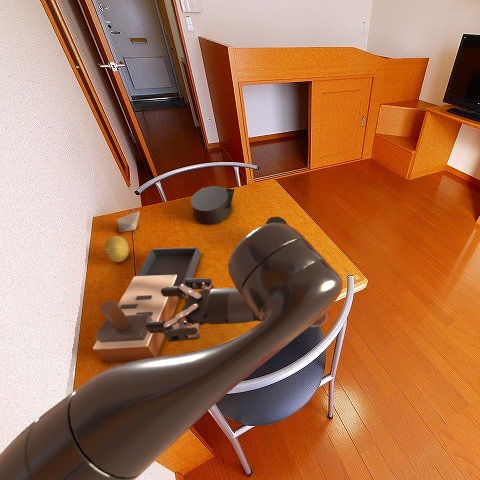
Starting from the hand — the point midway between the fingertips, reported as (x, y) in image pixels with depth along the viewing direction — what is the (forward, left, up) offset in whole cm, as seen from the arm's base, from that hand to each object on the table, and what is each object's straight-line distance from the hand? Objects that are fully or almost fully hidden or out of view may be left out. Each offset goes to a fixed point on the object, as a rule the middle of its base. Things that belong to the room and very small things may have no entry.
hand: (154, 308), depth 57 cm
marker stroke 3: (+2, +8, -8) cm, 11 cm away
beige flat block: (+3, +10, -14) cm, 17 cm away
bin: (+18, +16, -14) cm, 27 cm away
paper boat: (+34, +43, -14) cm, 56 cm away
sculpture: (+20, +34, -14) cm, 42 cm away
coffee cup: (+41, -10, -14) cm, 44 cm away
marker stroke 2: (+6, +11, -8) cm, 15 cm away
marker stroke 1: (+3, +13, -8) cm, 15 cm away
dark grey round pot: (+52, +21, -14) cm, 58 cm away
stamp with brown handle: (-3, +8, -8) cm, 11 cm away
